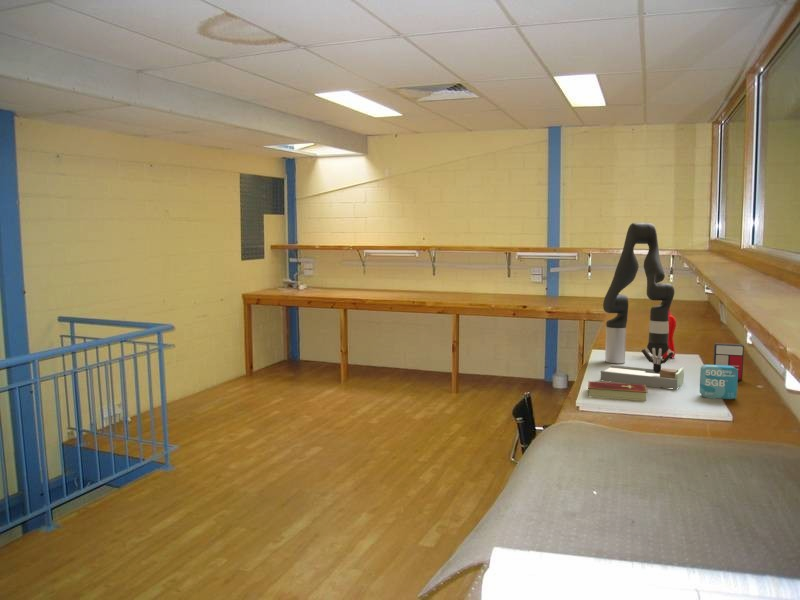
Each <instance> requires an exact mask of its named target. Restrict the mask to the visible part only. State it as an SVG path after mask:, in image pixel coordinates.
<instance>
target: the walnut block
mask: <svg viewBox="0 0 800 600" xmlns="http://www.w3.org/2000/svg"><path fill="white" fill-rule="evenodd" d="M678 371H679V369H676V368H675V369H674V368H668V367H667V368H666V367H663V368H662V367H661V370H660V377H662V378H671V379H675V374H676V373H677V372H678Z"/></svg>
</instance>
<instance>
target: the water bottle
mask: <svg viewBox="0 0 800 600" xmlns="http://www.w3.org/2000/svg"><path fill="white" fill-rule="evenodd" d="M668 324H669V333H668V346H669V349H670V350H671V351H673V352H674V354H673V355H672V356H671V357H673V358H674V357H675V356H676V348H675V343H674V342H675V341H674V334H675V330H676V326H677V319H676V317H674V316H673V315H672V314H671V308H670V309H669V318H668ZM667 353H668V351H667V352H666V353H665V354H664V355H663V357H662V359H665V358H666V357H667V356H668V355H667ZM657 358H658V356H657Z"/></svg>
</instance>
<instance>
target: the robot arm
mask: <svg viewBox="0 0 800 600" xmlns="http://www.w3.org/2000/svg"><path fill="white" fill-rule="evenodd" d="M645 244H646V245H647V246H648V252H647V254H646V256H645V259H644V261H643V270H644V273H645V276H646V296H647V298H648V299H649V300H650V301H655V302H656V301H660V304H658V305H654V306H652V307H651V308H650V315H649V326H648V343H647V345H646V347H645V348H643V349H642V350H641V353H642V354H643V356H644V357H645V358H646V360H647V361H648V362H649V363H652V364H653V367H652V369H653V371H655V373H659V372H660V370H661V369H662V364H665V363H667V362H668V360H669V359H671V358H670V357H671V356H672V355H673V354H674V352H673V351H671V350H670V349H669V346H668V333H669V324H668V318H669V309H670V310H671V305H672V302H673V300H674V296H675V287H674V286H673V285H672V284H671V283H662V282H663V281H664V279H665V277H666V275H665V272H664V269H663V266H662V262H661V257H660V251H659V249H660V248H659V241H658V234H657V230H656V226H655V224H653V223H650V222H632V223H631V224H630V225H629V227H628V229H627V231H626V236H625V240H624V243H623V248H622V251H621V254H620V257H619V260H618V262H617V265H616V268H615V271H614V274H613V278H612V280H611V283H610V284H609V285H610V286H609V288H608V290H607V292H606V293H605V296H604V299H603V301H602V308H603V310H604V312H605V313H606V314H616V316H615V317H612V318H610V319H609V320H607V321H606V324H605V325H606V326H605V352H604V354H605V356H604V361H606V362H605V363H608V364H609V363H611V364H625V362H626V343H627V342H626V341H627V340H626V339H627V323H628V316H629V315H628V314H629V313H628V312H629V297H628V295H626V294H623V293H622V294H620V293H621V291H624V289H625V288H626V287H628V286H629V285H630V284H632V283H633V282H634V280H635V279H636V276H637V273H638V271H639V261H638V260H637V257H636V255H635V251H634V248H635V246H636V245H645ZM667 351H668V353H667V355H668V356H667V357H666V358H662V357H663V355H664V354H665V353H666V352H667ZM649 352H650V353H649ZM650 354H651V355H652V356H651V355H650ZM657 356H658V357H657Z"/></svg>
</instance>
